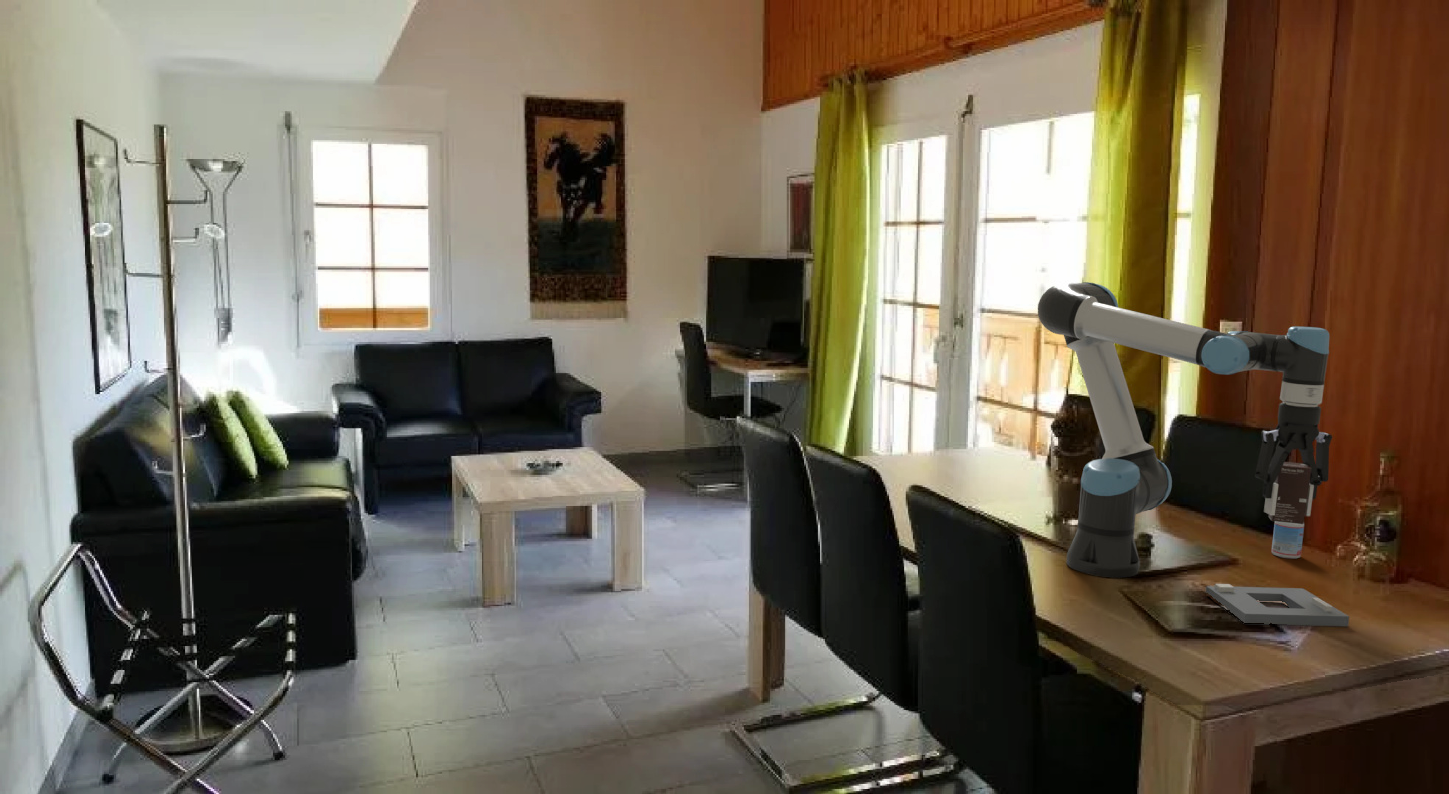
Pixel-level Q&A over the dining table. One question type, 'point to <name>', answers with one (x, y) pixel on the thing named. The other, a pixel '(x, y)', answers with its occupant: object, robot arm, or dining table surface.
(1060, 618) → the dining table surface
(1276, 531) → the pill bottle
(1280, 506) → the box
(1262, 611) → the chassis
